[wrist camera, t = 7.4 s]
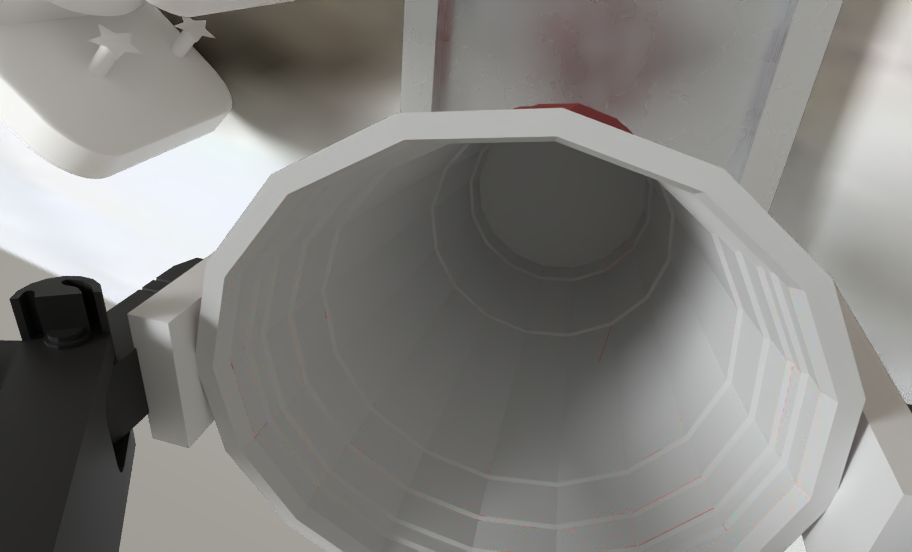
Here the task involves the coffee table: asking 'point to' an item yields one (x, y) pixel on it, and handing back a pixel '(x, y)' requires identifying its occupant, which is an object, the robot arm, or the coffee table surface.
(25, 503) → the robot arm
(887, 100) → the coffee table surface
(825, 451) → the plastic cup
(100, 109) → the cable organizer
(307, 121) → the coffee table surface
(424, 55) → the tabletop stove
